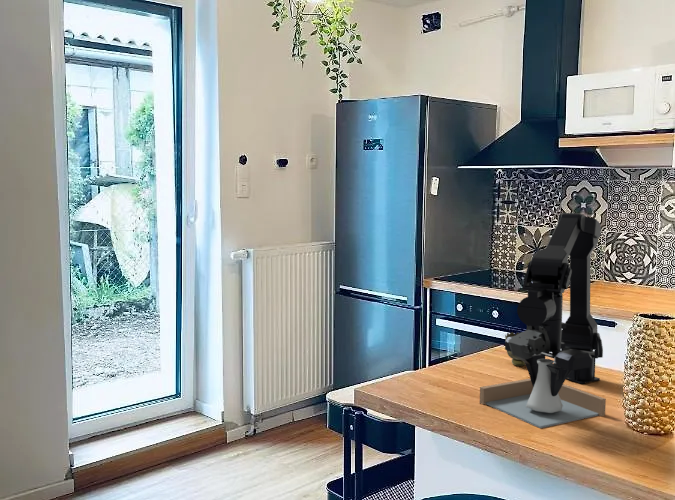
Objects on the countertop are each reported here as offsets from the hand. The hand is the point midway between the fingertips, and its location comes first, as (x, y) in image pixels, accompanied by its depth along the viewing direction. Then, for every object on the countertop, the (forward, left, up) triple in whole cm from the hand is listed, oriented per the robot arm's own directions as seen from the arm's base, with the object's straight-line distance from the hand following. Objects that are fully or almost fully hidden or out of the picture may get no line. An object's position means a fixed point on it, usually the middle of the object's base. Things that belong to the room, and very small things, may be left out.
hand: (544, 392), depth 132 cm
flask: (0, 0, -3) cm, 3 cm away
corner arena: (-1, -2, -4) cm, 5 cm away
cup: (-22, -31, -5) cm, 38 cm away
